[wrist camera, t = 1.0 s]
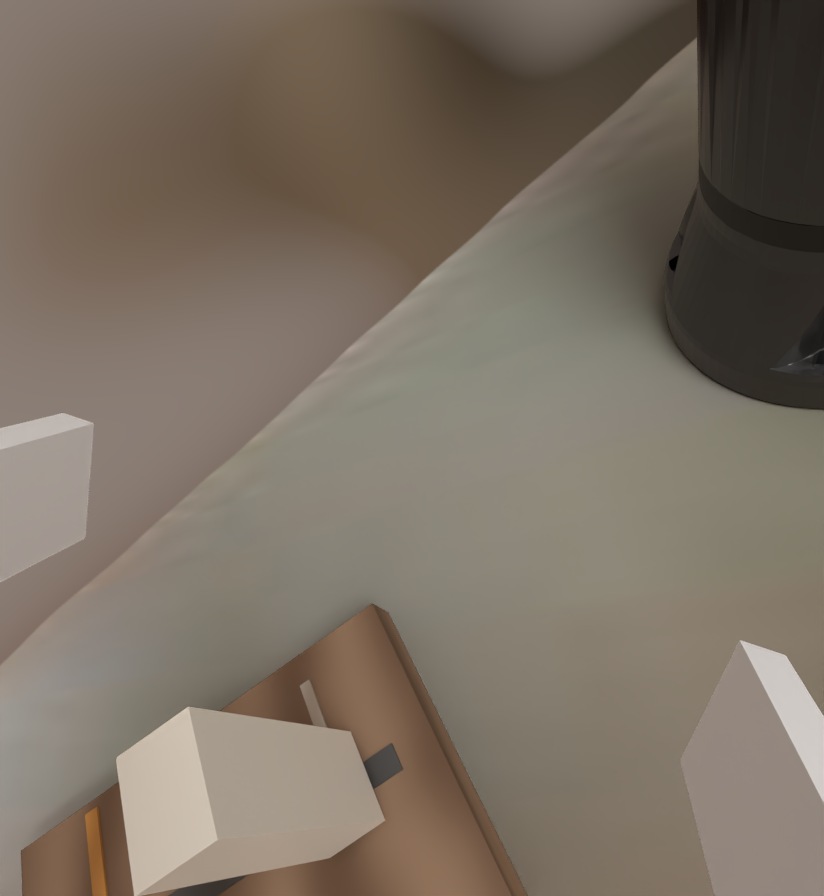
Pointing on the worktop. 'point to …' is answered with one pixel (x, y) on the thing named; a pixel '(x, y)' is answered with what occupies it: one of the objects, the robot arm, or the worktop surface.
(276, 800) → the fader tab
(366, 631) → the board
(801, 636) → the worktop surface
